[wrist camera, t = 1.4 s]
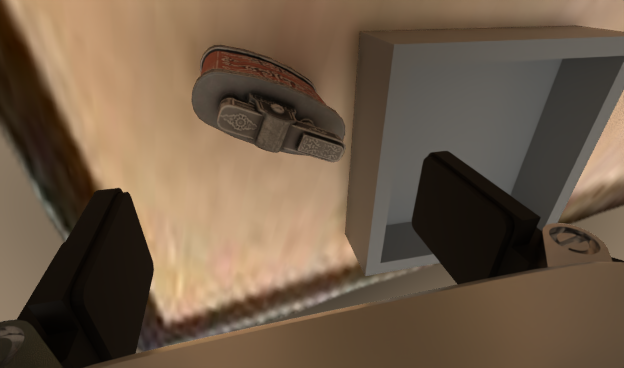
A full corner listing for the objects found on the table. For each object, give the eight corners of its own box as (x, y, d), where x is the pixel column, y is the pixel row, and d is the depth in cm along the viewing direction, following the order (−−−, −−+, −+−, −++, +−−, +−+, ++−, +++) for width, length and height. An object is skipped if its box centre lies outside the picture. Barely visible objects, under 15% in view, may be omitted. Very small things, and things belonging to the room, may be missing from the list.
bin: (575, 25, 26) (650, 35, 22) (505, 210, 36) (546, 244, 31) (360, 31, 23) (394, 44, 18) (345, 233, 32) (365, 275, 28)
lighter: (195, 84, 22) (177, 147, 14) (208, 32, 21) (197, 68, 12) (303, 120, 25) (343, 190, 17) (321, 78, 24) (374, 131, 15)
